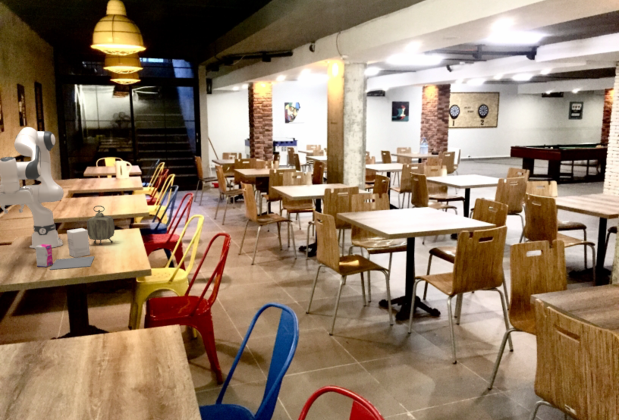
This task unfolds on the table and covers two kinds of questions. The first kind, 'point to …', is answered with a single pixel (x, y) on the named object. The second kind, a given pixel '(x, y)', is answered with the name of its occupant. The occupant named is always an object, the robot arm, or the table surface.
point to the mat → (72, 263)
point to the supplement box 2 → (78, 242)
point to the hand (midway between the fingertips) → (13, 212)
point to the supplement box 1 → (44, 255)
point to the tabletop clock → (100, 227)
